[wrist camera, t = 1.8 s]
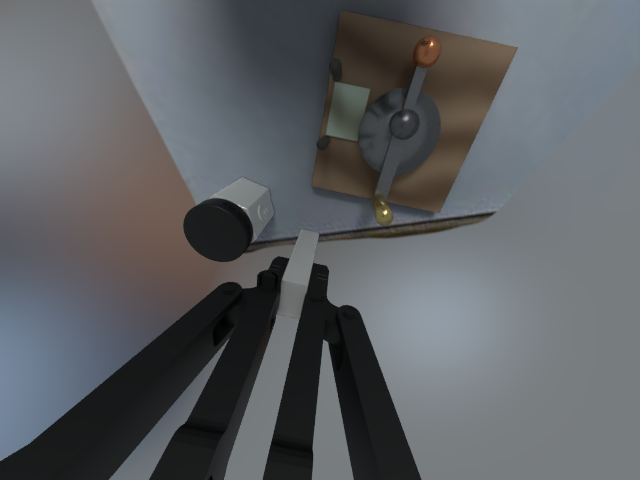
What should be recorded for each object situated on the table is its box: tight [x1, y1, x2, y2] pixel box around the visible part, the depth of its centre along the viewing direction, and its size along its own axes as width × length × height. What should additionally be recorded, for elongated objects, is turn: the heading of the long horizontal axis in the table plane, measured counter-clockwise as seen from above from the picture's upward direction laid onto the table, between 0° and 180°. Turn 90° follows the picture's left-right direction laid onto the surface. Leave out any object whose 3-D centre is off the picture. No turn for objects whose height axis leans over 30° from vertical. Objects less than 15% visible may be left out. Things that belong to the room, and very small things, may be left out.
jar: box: [183, 177, 274, 262], centre depth 33 cm, size 9×8×12 cm
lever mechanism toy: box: [312, 10, 518, 213], centre depth 28 cm, size 20×20×8 cm
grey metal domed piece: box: [358, 35, 442, 226], centre depth 26 cm, size 19×10×8 cm, turn 170°
